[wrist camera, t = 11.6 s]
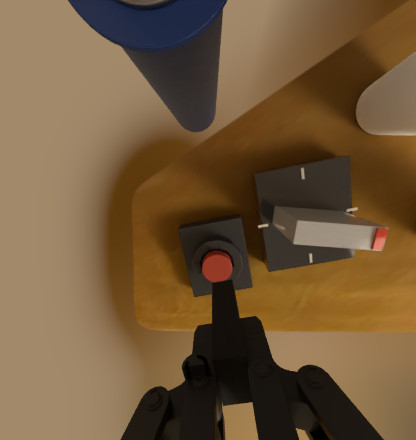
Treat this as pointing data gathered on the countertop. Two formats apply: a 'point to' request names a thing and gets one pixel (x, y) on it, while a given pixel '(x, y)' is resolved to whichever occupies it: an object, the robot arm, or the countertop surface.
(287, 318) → the countertop surface
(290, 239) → the upright gray tile
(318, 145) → the countertop surface
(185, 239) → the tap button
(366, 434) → the robot arm
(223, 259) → the button
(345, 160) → the dark gray dial base
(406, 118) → the cup
